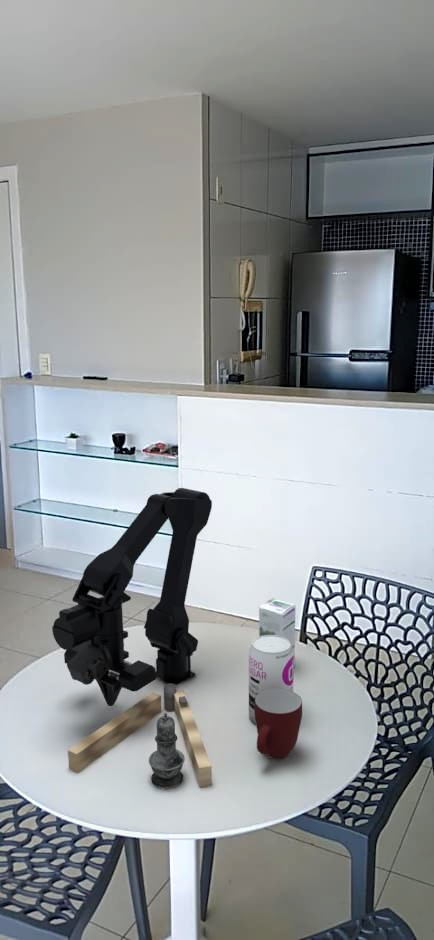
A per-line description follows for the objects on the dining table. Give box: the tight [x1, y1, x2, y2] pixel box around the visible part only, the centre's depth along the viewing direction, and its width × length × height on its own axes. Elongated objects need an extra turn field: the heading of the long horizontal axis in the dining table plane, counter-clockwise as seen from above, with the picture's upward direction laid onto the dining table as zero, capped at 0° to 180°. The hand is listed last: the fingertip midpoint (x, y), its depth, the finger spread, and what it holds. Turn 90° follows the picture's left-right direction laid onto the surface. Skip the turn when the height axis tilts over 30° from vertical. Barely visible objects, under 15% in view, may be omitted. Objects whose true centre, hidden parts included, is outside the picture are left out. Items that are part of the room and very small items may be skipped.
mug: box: [254, 688, 303, 760], centre depth 124 cm, size 10×8×10 cm
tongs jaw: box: [67, 691, 162, 774], centre depth 130 cm, size 22×2×4 cm, turn 145°
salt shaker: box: [148, 712, 186, 790], centre depth 118 cm, size 6×6×12 cm
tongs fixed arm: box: [163, 683, 213, 788], centre depth 129 cm, size 25×4×4 cm, turn 13°
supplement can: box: [248, 635, 295, 724], centre depth 135 cm, size 8×8×15 cm
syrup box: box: [258, 598, 296, 668], centre depth 153 cm, size 6×6×14 cm
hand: (110, 705), depth 138 cm, fingers closed
